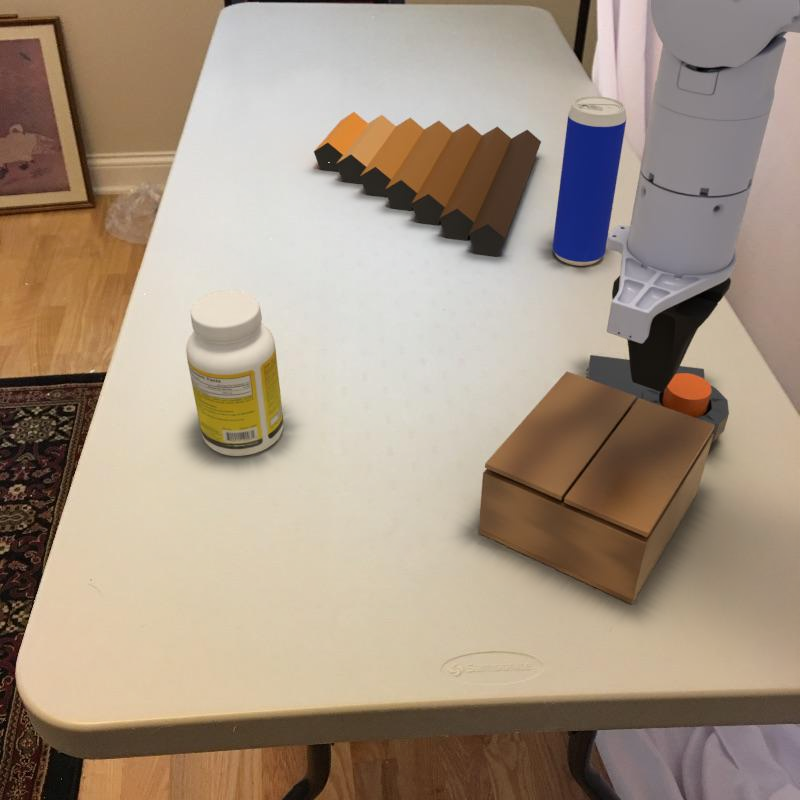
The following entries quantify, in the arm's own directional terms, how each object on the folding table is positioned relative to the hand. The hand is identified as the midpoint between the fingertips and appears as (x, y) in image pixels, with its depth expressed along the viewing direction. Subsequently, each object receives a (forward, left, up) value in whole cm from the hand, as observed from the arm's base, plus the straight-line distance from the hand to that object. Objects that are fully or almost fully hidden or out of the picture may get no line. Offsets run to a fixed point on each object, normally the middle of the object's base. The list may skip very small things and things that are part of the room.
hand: (650, 381), depth 56 cm
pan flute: (+24, -45, -11) cm, 53 cm away
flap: (0, +2, -5) cm, 5 cm away
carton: (+2, +2, -10) cm, 11 cm away
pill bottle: (+28, -1, -11) cm, 30 cm away
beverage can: (+5, -34, -11) cm, 36 cm away
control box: (-1, -11, -10) cm, 15 cm away
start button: (-4, -9, -8) cm, 12 cm away
